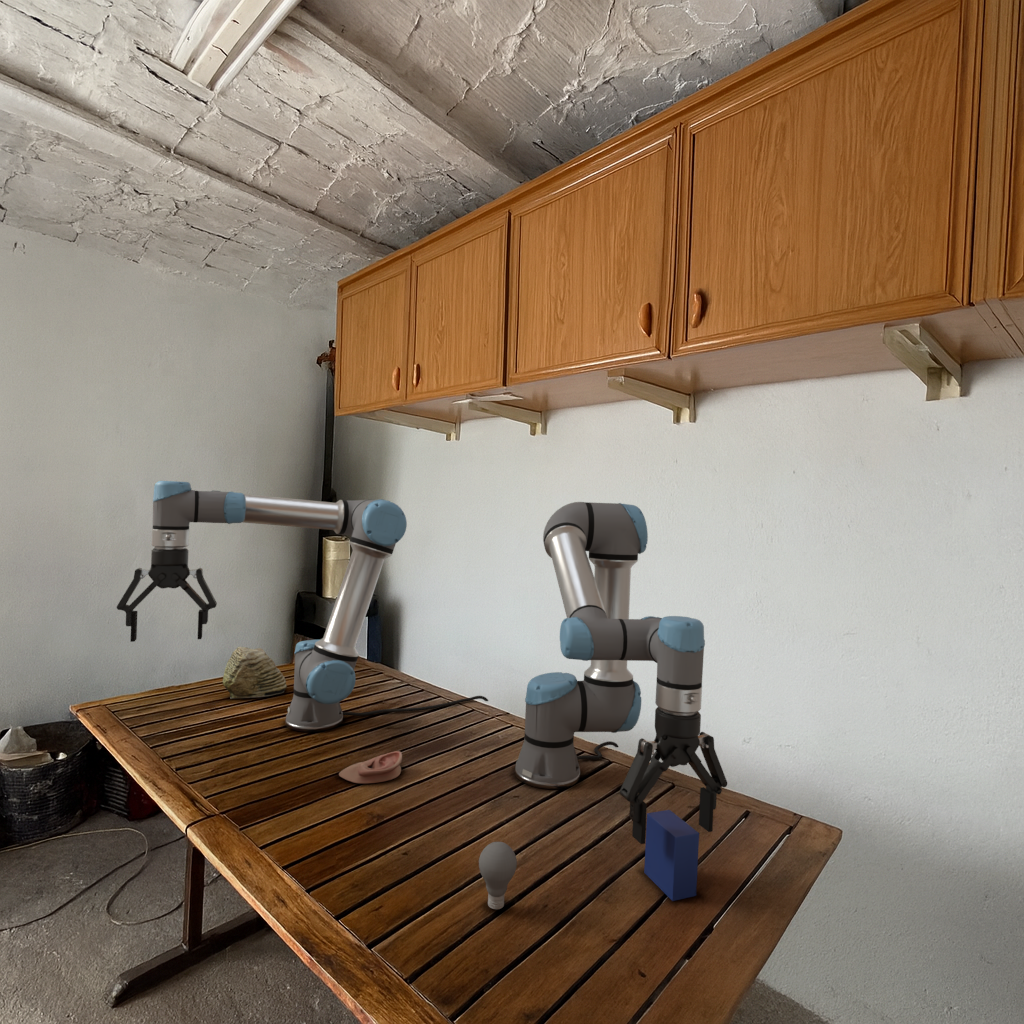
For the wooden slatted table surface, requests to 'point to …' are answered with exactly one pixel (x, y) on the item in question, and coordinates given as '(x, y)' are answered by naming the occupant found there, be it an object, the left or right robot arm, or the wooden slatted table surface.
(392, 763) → the anatomical model
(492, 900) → the light bulb
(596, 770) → the wooden slatted table surface
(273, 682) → the fossil
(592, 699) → the right robot arm
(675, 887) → the block
